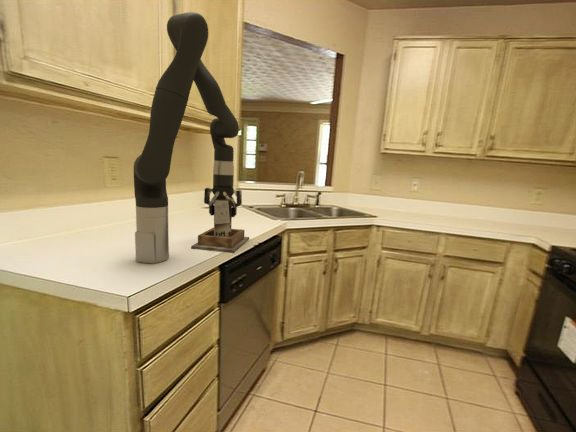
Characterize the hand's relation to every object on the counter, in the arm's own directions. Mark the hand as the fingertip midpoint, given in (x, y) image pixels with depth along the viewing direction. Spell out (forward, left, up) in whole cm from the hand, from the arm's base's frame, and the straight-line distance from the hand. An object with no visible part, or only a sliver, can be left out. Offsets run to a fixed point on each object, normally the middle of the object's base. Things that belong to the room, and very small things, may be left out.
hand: (222, 216), depth 118 cm
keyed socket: (0, 0, -11) cm, 11 cm away
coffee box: (0, 0, -10) cm, 10 cm away
